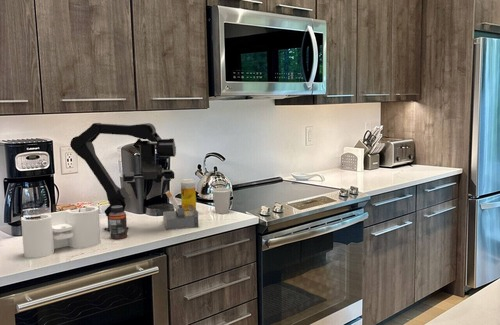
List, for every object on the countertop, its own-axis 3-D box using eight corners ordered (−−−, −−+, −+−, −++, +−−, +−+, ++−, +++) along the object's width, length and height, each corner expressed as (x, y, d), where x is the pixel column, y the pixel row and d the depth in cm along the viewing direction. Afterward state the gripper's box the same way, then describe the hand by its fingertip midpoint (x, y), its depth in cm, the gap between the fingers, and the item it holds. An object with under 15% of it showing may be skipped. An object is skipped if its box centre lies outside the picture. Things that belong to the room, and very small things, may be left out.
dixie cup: (235, 212, 212) (234, 189, 211) (218, 215, 208) (217, 192, 206) (225, 209, 219) (225, 187, 218) (209, 211, 215) (208, 189, 213)
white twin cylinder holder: (30, 260, 152) (28, 222, 151) (20, 254, 159) (17, 217, 158) (105, 243, 169) (103, 209, 167) (93, 238, 176) (91, 205, 175)
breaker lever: (178, 213, 190) (166, 194, 188) (176, 211, 195) (165, 192, 193) (181, 211, 191) (170, 192, 189) (180, 208, 195) (168, 190, 193)
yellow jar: (179, 214, 210) (177, 180, 209) (190, 212, 215) (188, 178, 213) (188, 216, 206) (187, 181, 205) (199, 214, 211) (198, 179, 209)
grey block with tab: (166, 229, 185) (166, 211, 184) (163, 221, 199) (162, 204, 198) (198, 227, 188) (197, 209, 188) (193, 219, 202) (192, 202, 201)
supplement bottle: (120, 234, 181) (119, 204, 179) (130, 236, 177) (129, 205, 175) (106, 237, 176) (105, 206, 175) (116, 240, 172) (115, 208, 171)
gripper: (122, 160, 173) (124, 204, 175) (175, 158, 179) (177, 200, 180) (121, 157, 184) (123, 198, 186) (171, 155, 189) (173, 195, 191)
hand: (149, 198), depth 186 cm, fingers open, 9 cm apart
